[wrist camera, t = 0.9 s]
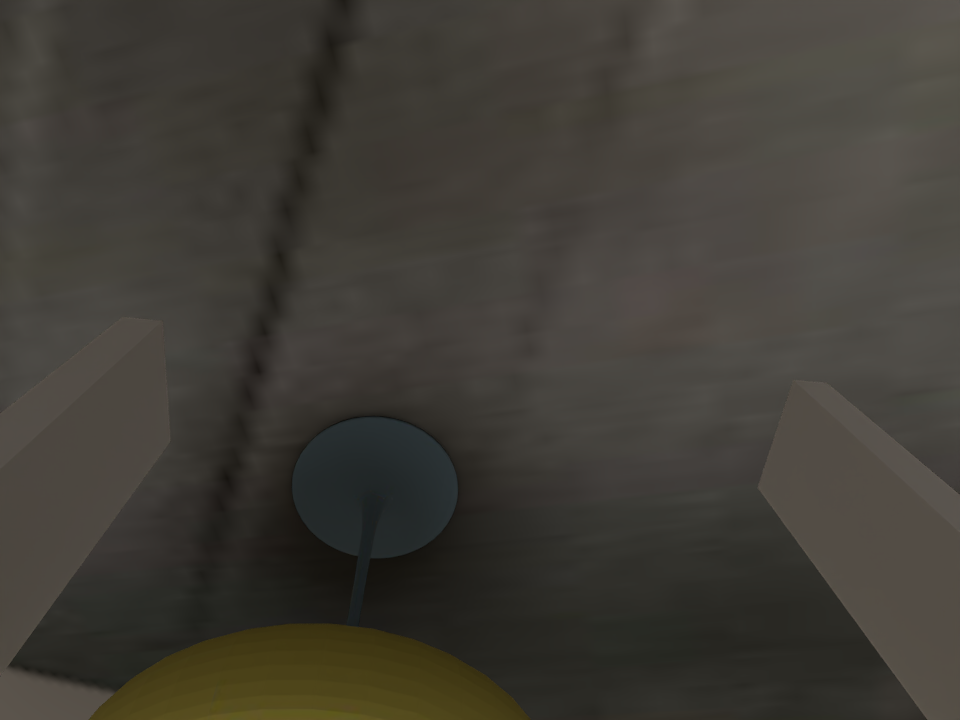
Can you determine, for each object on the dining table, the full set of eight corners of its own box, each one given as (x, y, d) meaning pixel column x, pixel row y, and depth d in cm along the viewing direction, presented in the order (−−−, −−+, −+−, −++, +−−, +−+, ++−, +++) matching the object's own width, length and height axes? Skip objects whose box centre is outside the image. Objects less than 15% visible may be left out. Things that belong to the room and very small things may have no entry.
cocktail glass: (304, 311, 40) (114, 626, 17) (564, 438, 44) (692, 831, 21) (194, 537, 46) (-62, 1003, 23) (433, 631, 50) (422, 1108, 27)
